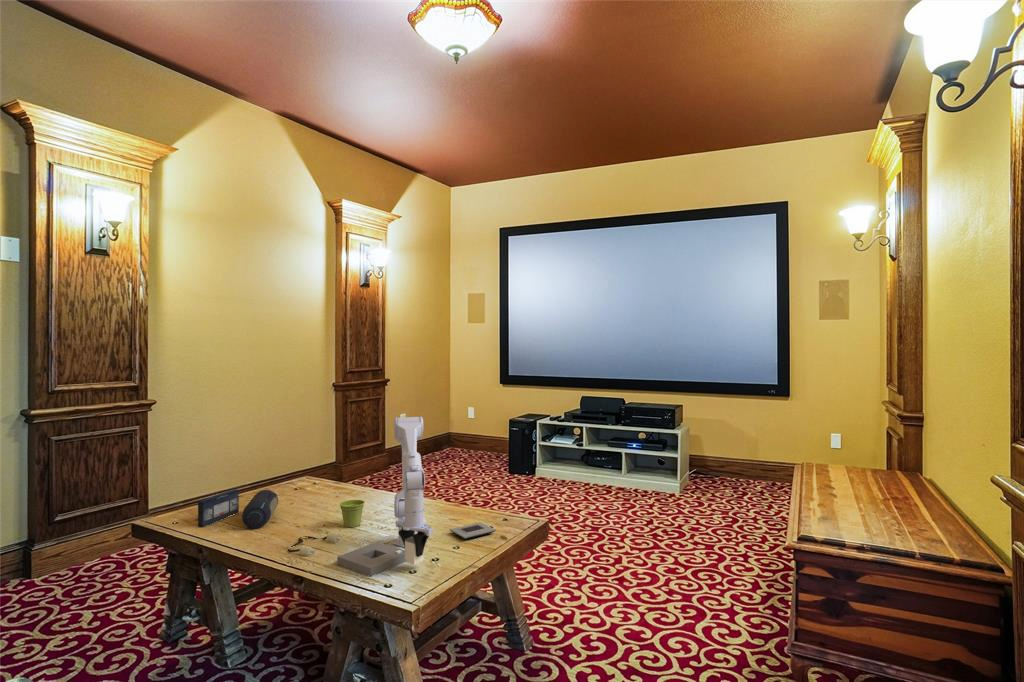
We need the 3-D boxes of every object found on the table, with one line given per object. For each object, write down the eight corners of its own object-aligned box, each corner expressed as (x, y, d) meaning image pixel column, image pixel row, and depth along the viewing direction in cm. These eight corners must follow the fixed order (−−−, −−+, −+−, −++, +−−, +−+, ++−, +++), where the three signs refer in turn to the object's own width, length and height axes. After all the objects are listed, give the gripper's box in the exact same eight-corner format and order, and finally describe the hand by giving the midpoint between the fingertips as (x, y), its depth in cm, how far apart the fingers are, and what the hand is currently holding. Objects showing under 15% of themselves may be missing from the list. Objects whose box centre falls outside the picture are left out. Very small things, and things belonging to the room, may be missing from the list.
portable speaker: (268, 530, 212) (268, 503, 212) (239, 532, 210) (239, 505, 210) (280, 510, 237) (279, 486, 237) (254, 512, 234) (254, 488, 234)
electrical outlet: (464, 543, 198) (464, 536, 198) (449, 535, 206) (449, 528, 206) (495, 535, 206) (495, 528, 206) (480, 527, 214) (480, 521, 214)
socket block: (377, 549, 192) (376, 540, 192) (410, 559, 182) (410, 550, 182) (337, 564, 179) (337, 554, 179) (371, 576, 169) (370, 566, 169)
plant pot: (339, 523, 219) (339, 500, 219) (364, 520, 222) (364, 498, 222) (339, 530, 211) (339, 507, 211) (365, 528, 213) (365, 504, 213)
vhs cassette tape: (202, 527, 215) (202, 501, 215) (196, 527, 216) (196, 501, 216) (240, 513, 233) (239, 489, 232) (234, 513, 233) (234, 488, 233)
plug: (414, 557, 178) (414, 535, 178) (423, 560, 176) (423, 538, 176) (405, 561, 175) (404, 539, 175) (414, 564, 173) (414, 541, 173)
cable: (272, 553, 190) (272, 543, 190) (306, 537, 205) (306, 528, 205) (310, 559, 184) (310, 548, 184) (341, 542, 200) (341, 532, 200)
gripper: (388, 509, 176) (388, 552, 177) (421, 517, 168) (421, 563, 168) (404, 503, 182) (405, 546, 182) (437, 511, 174) (438, 556, 174)
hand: (414, 554), depth 176 cm, fingers closed on plug, 4 cm apart
